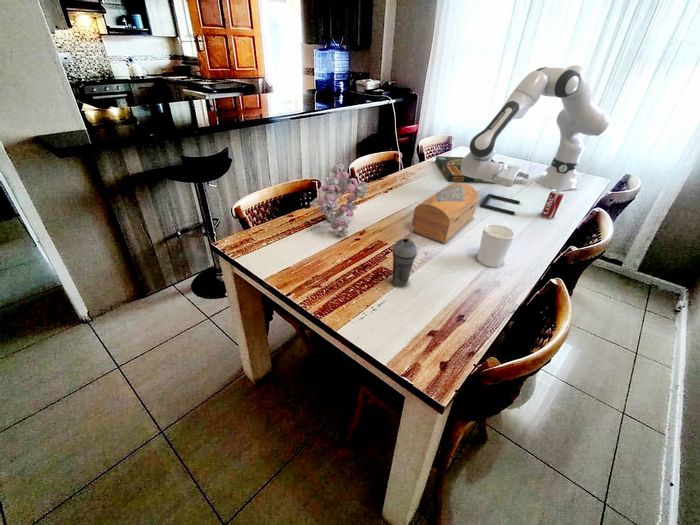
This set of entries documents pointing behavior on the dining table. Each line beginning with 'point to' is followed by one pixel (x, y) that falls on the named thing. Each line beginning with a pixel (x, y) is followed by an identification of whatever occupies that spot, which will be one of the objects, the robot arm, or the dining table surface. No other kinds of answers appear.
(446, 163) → the pizza box
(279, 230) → the dining table surface
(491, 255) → the candle holder
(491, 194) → the bay
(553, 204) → the soda can
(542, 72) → the robot arm
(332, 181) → the pink flower bunch
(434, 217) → the wooden box
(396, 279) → the beverage cup
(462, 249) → the dining table surface
